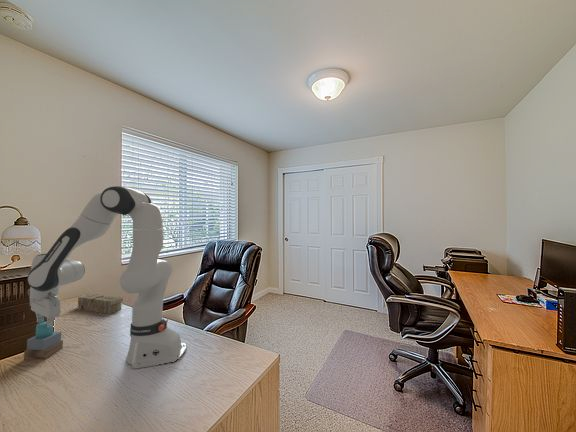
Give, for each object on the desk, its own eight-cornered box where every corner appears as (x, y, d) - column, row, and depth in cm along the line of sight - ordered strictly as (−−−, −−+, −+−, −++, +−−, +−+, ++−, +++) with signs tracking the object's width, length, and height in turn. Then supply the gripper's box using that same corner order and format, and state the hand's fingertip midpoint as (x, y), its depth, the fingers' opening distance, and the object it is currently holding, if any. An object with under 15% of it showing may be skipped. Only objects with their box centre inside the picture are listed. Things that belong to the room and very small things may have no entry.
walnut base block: (62, 349, 103) (62, 339, 103) (46, 359, 95) (46, 349, 95) (42, 350, 102) (42, 340, 102) (23, 360, 94) (24, 350, 94)
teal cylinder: (56, 332, 101) (56, 320, 101) (45, 338, 96) (46, 326, 96) (42, 333, 101) (43, 321, 101) (32, 338, 96) (32, 326, 96)
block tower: (76, 310, 148) (110, 314, 140) (76, 296, 149) (110, 300, 140) (89, 305, 156) (123, 309, 148) (89, 293, 156) (123, 296, 148)
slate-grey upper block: (60, 341, 102) (61, 331, 102) (43, 350, 95) (44, 340, 95) (45, 340, 102) (45, 331, 102) (26, 349, 95) (27, 339, 95)
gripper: (66, 292, 97) (65, 326, 97) (46, 286, 107) (45, 317, 106) (45, 297, 91) (44, 333, 91) (26, 289, 101) (25, 322, 101)
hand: (44, 324), depth 99 cm, fingers open, 8 cm apart
